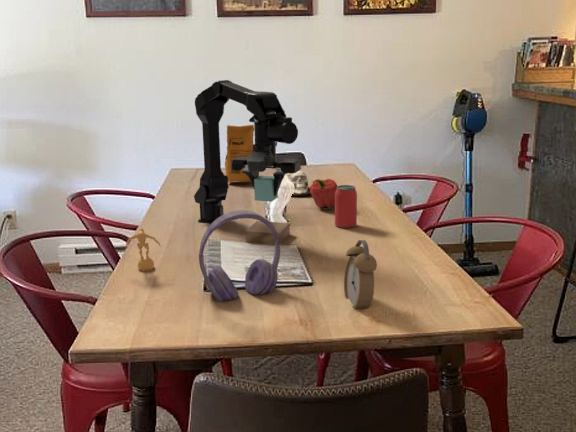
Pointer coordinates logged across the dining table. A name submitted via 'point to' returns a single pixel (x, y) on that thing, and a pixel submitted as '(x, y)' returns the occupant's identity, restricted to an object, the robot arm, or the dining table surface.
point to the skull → (300, 183)
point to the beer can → (345, 206)
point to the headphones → (259, 272)
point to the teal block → (264, 188)
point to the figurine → (144, 262)
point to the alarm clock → (359, 275)
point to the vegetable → (324, 192)
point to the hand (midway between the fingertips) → (266, 195)
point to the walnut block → (267, 232)
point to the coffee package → (238, 149)
